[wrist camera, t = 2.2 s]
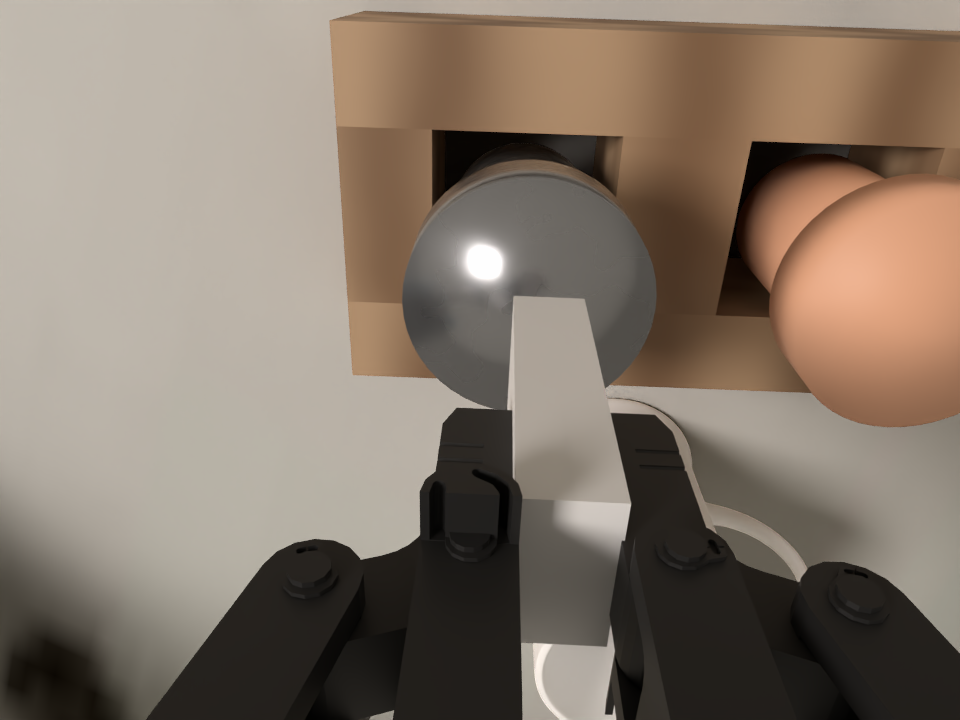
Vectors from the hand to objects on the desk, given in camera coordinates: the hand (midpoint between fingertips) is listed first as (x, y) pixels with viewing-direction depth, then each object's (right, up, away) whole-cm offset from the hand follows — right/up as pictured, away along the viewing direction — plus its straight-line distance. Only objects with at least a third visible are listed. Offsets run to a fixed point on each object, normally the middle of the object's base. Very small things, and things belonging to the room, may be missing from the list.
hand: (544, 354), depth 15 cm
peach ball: (+10, +5, +9) cm, 14 cm away
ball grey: (0, +5, +9) cm, 11 cm away
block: (+5, +7, +13) cm, 16 cm away
